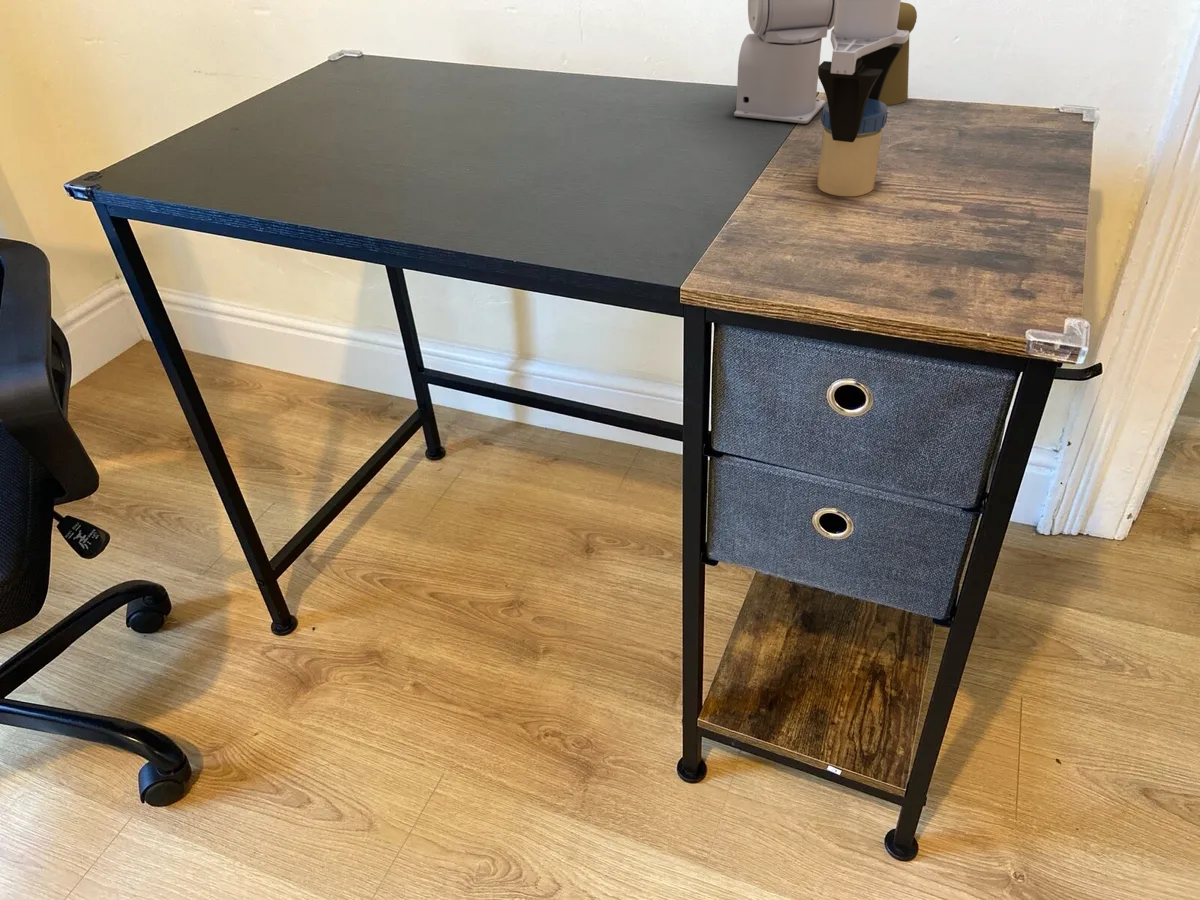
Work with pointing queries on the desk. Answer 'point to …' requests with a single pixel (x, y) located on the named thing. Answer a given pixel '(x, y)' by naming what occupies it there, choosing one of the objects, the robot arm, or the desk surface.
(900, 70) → the olive cone figure
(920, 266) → the desk surface
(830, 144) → the jar
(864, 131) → the lid
